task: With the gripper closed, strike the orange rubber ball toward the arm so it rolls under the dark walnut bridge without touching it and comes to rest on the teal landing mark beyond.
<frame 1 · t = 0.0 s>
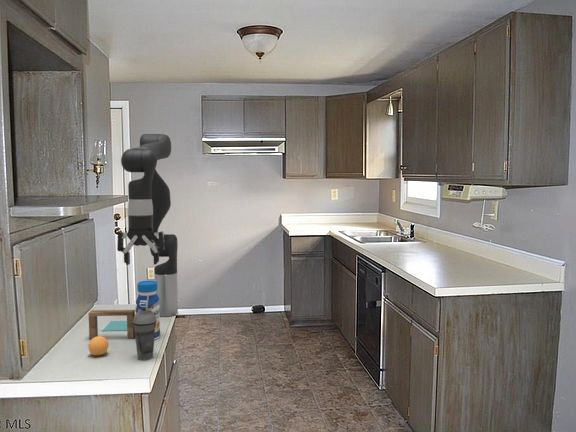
hand: (141, 264, 153), 29 cm above the countertop, tool pointing down, fingers open, 8 cm apart
landing mark: (122, 325, 184), on the countertop
bridge: (112, 338, 170), on the countertop
beverage cup: (145, 358, 152), on the countertop
ball: (98, 345, 154), on the countertop
beverage bottle: (148, 338, 171), on the countertop
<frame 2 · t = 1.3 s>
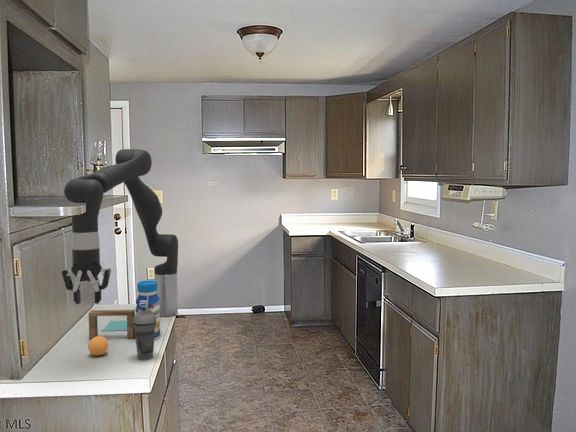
hand: (87, 303, 144), 19 cm above the countertop, tool pointing down, fingers open, 5 cm apart
nothing on the countertop moved.
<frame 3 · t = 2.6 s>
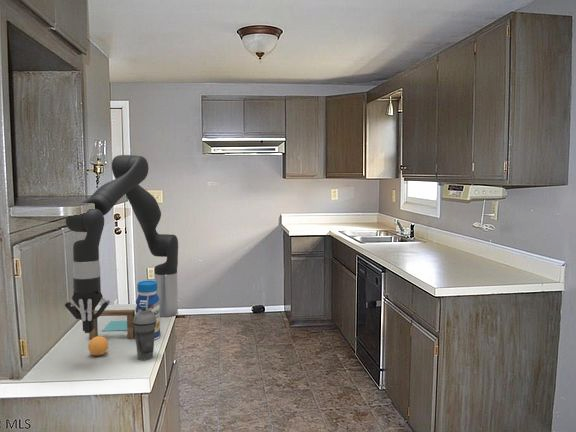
hand: (88, 332, 144), 10 cm above the countertop, tool pointing down, fingers closed
nothing on the countertop moved.
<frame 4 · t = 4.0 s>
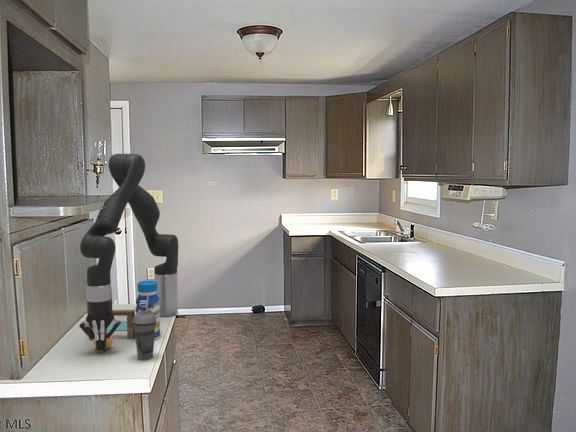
hand: (101, 350, 155), 1 cm above the countertop, tool pointing down, fingers closed
ball: (103, 340, 159), on the countertop
everything else where it was.
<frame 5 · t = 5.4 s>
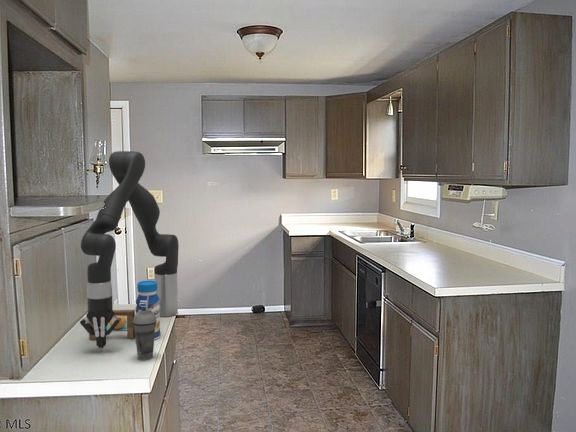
hand: (101, 347, 157), 2 cm above the countertop, tool pointing down, fingers closed
ball: (117, 321, 180), on the countertop
everything else where it was.
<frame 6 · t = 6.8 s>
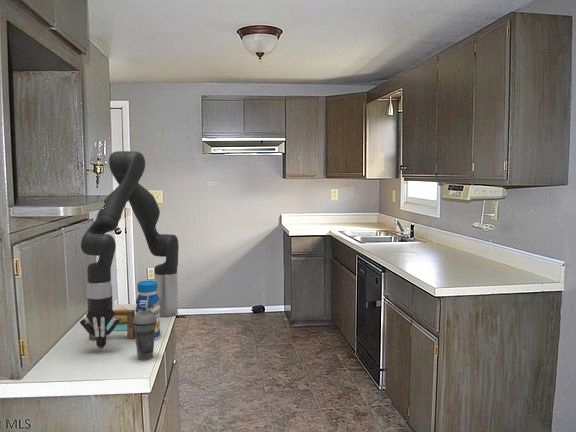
hand: (101, 347, 157), 2 cm above the countertop, tool pointing down, fingers closed
ball: (121, 315, 187), on the countertop
everything else where it was.
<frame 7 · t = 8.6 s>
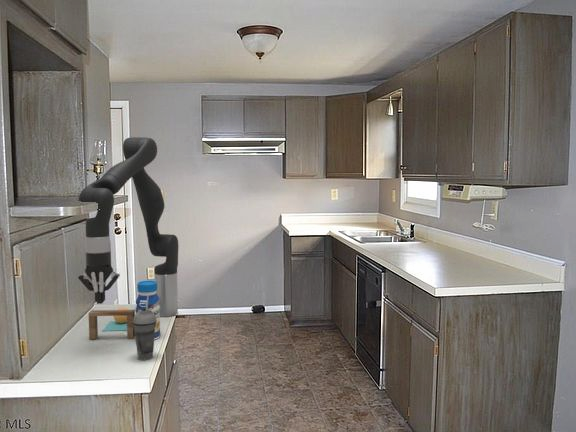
hand: (100, 303, 156), 16 cm above the countertop, tool pointing down, fingers closed
nothing on the countertop moved.
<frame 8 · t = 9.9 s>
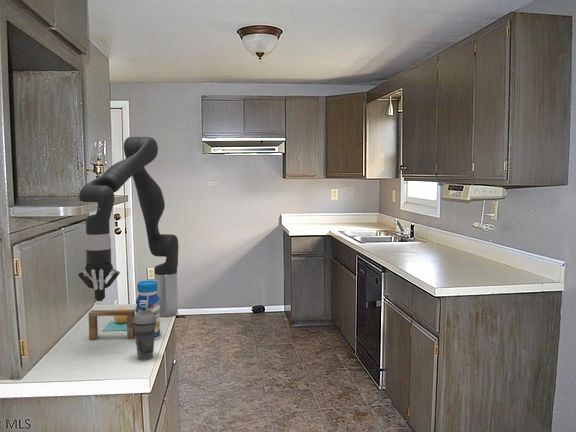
hand: (100, 300, 156), 17 cm above the countertop, tool pointing down, fingers closed
nothing on the countertop moved.
at the end: ball 3.6 cm from the landing mark (horizontally); ball never touched bridge; ball at rest at the end (0.0 cm/s) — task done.
